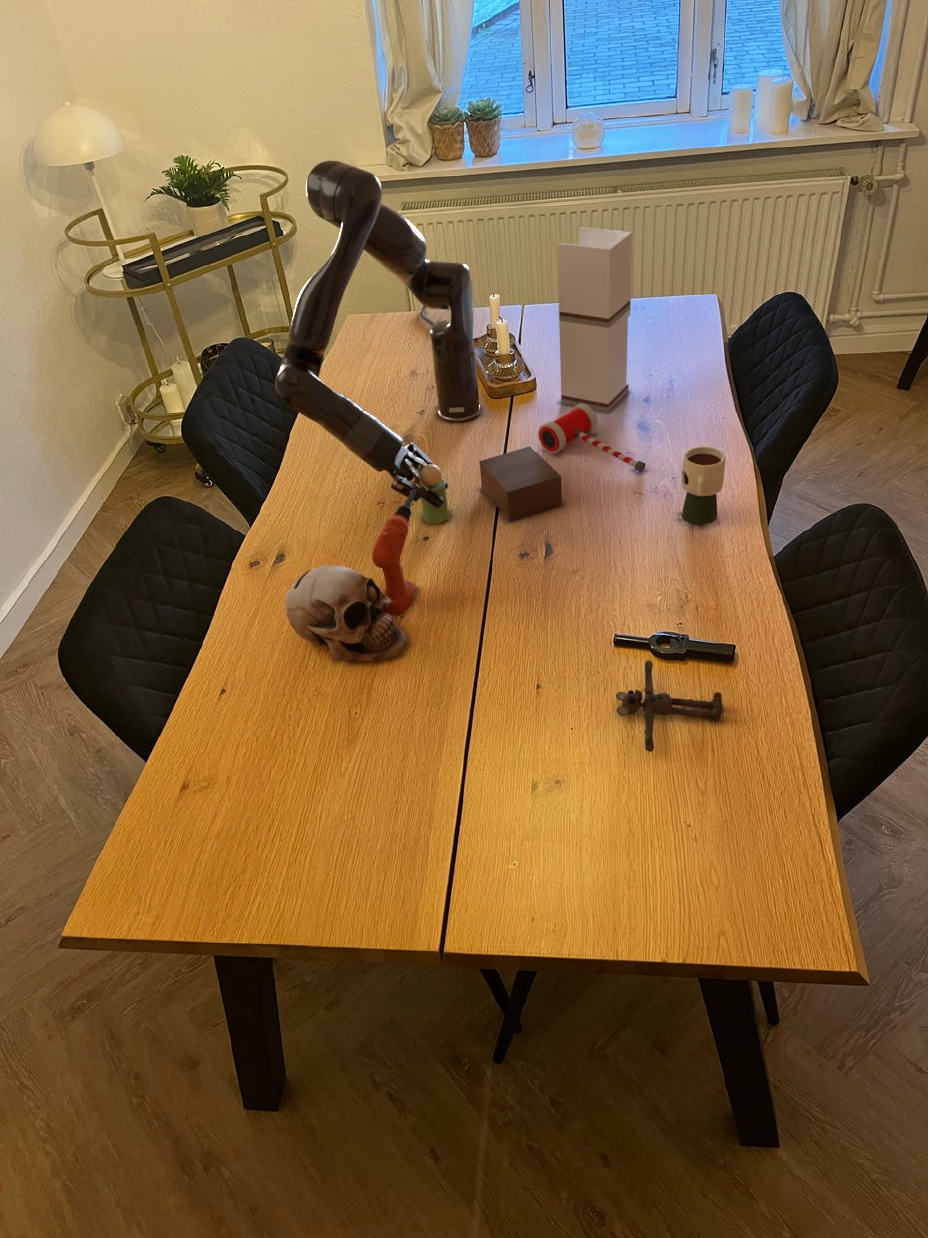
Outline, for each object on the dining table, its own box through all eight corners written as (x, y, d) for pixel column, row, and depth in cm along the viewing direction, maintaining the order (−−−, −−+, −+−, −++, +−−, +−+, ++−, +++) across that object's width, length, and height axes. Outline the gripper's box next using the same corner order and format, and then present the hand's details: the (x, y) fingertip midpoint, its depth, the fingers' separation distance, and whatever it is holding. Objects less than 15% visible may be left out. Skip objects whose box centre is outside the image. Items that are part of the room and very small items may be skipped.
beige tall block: (628, 391, 208) (632, 231, 186) (607, 412, 202) (609, 249, 179) (582, 383, 214) (581, 226, 191) (561, 403, 207) (557, 243, 185)
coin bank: (411, 653, 146) (390, 587, 138) (306, 686, 145) (278, 622, 137) (394, 598, 159) (374, 534, 150) (298, 628, 158) (272, 566, 149)
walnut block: (482, 489, 182) (479, 460, 178) (532, 474, 185) (530, 445, 181) (509, 521, 173) (507, 492, 169) (561, 505, 175) (561, 475, 171)
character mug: (682, 500, 173) (686, 439, 165) (721, 503, 171) (727, 441, 163) (676, 533, 165) (680, 470, 157) (717, 537, 163) (723, 473, 155)
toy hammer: (661, 459, 185) (662, 431, 181) (624, 484, 179) (624, 455, 175) (574, 426, 198) (574, 399, 194) (537, 448, 193) (536, 420, 189)
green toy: (420, 514, 177) (412, 463, 170) (443, 507, 179) (436, 456, 171) (429, 526, 174) (421, 475, 167) (452, 519, 175) (446, 467, 168)
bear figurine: (727, 747, 122) (617, 734, 124) (721, 768, 125) (613, 756, 126) (718, 655, 136) (619, 645, 137) (713, 676, 138) (616, 666, 140)
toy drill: (437, 543, 167) (425, 478, 156) (405, 618, 155) (389, 553, 144) (412, 541, 168) (398, 475, 157) (378, 615, 156) (360, 550, 145)
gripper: (375, 447, 160) (450, 505, 165) (391, 408, 170) (461, 464, 176) (350, 474, 164) (425, 530, 170) (367, 434, 175) (437, 488, 180)
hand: (443, 496), depth 173 cm, fingers closed on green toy, 4 cm apart
